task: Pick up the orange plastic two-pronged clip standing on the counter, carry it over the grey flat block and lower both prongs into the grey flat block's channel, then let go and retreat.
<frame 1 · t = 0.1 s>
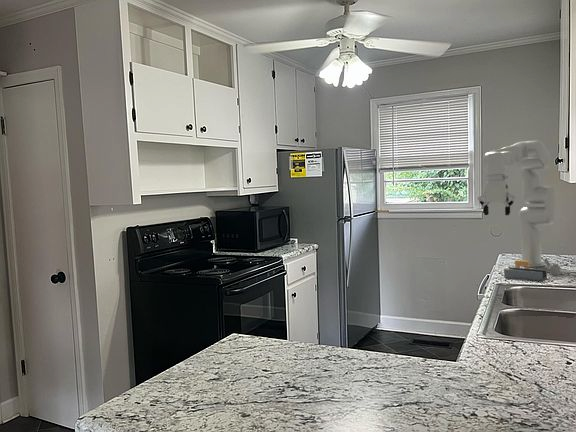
hand: (496, 215, 228), 31 cm above the countertop, tool pointing down, fingers open, 9 cm apart
clip: (522, 272, 244), on the countertop
grey flat block: (525, 277, 232), on the countertop
grey irregular flat piece: (551, 274, 236), on the countertop
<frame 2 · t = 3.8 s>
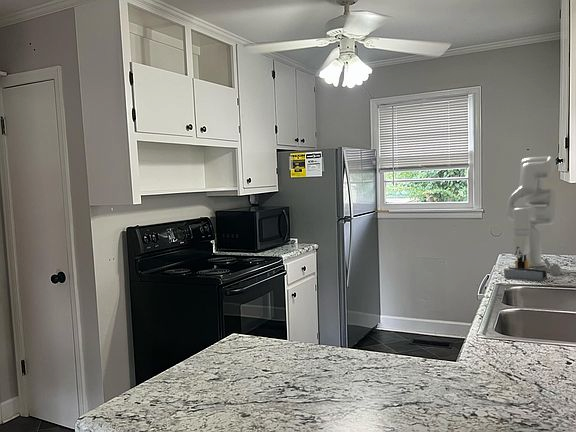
hand: (522, 268, 244), 2 cm above the countertop, tool pointing down, fingers closed on clip, 2 cm apart
clip: (522, 272, 244), on the countertop, touching gripper
everything else where it was.
when the fingers open (5 cm above the countertop, at t = 8.3 s): clip drops 1 cm, resting on grey flat block.
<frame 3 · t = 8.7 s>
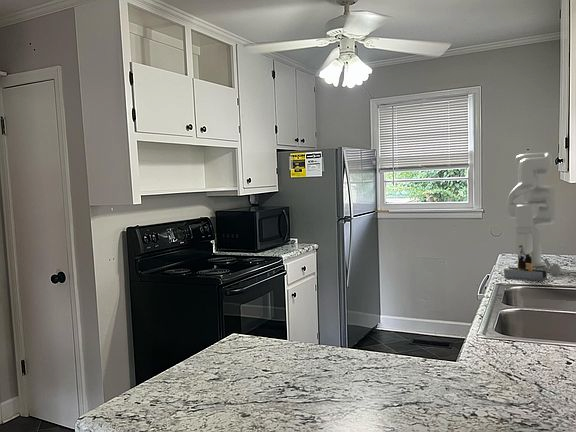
hand: (525, 267, 231), 5 cm above the countertop, tool pointing down, fingers open, 7 cm apart
clip: (525, 275, 232), point 1 cm above the countertop, touching grey flat block
everything else where it was.
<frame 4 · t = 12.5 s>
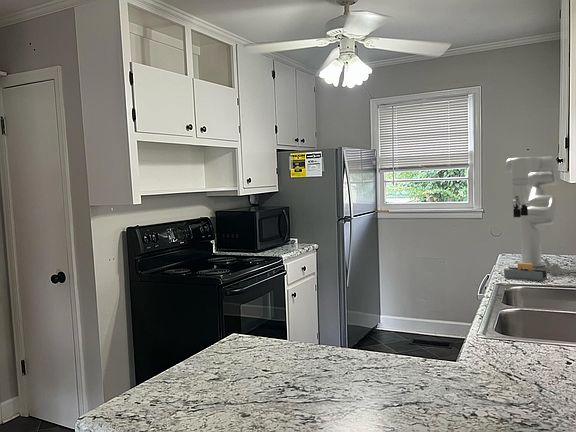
hand: (520, 216, 244), 28 cm above the countertop, tool pointing down, fingers open, 9 cm apart
nothing on the countertop moved.
at the end: clip inside the target area on the grey flat block (0.0 cm from its centre), point 1.0 cm above the grey flat block's base; clip tilted 0°; the gripper is holding nothing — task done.
